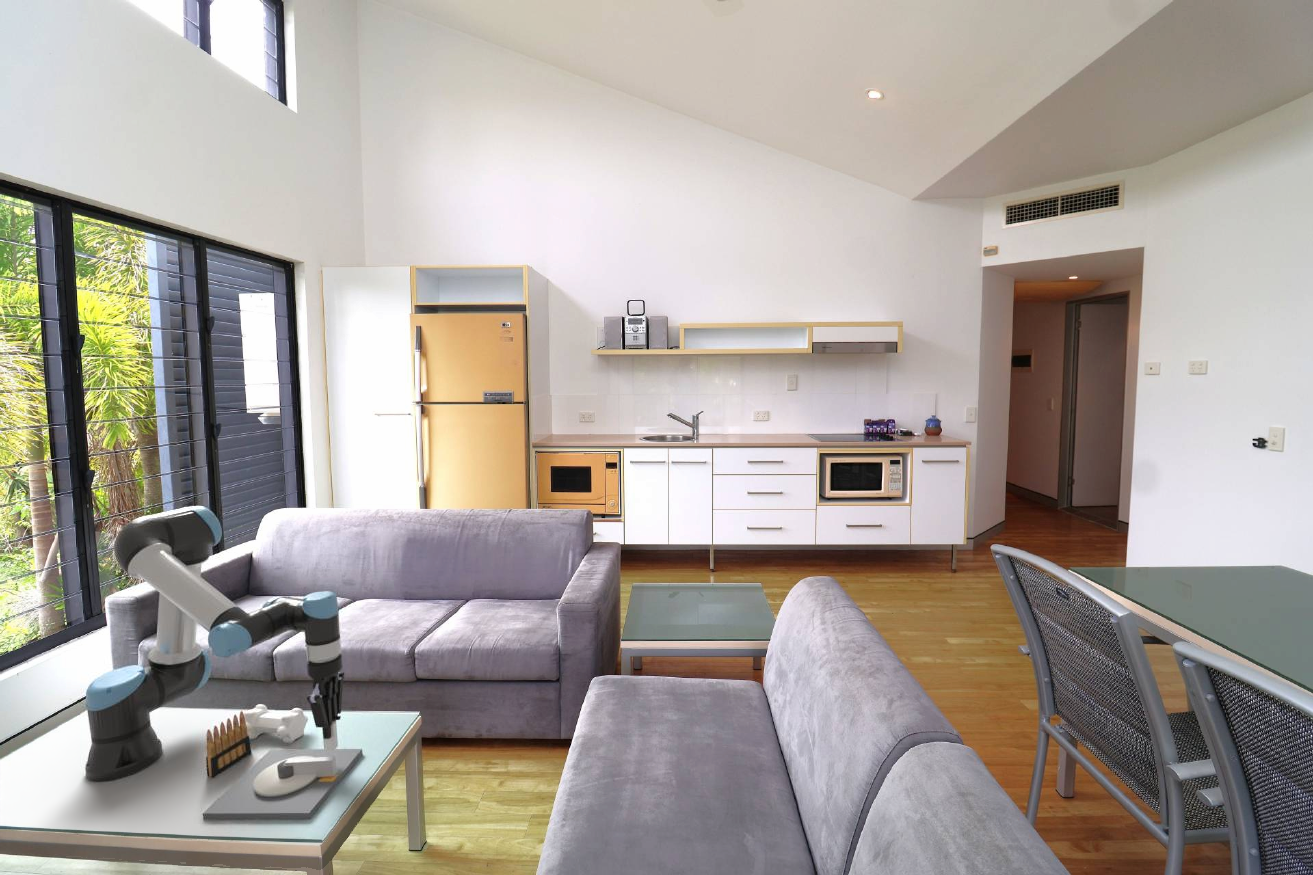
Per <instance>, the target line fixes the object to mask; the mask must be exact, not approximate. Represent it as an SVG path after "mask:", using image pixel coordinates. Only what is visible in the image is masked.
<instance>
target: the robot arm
mask: <svg viewBox="0 0 1313 875" xmlns="http://www.w3.org/2000/svg"><path fill="white" fill-rule="evenodd" d="M222 534H223V530H222V526H221V522H220V520H219V518H217V516H216V514H215V513H214V512H213V511H212V510H211V509H209V508H208V507H205V506H203V505H195V506H194V505H193V506H184V507H181V508H177V509H173V510H172V509H171V510H168V511H163V512H159V513H154V514H149V515H142V516H140V517H136V518H134V519H132V520H130V521H129V522H128V523H126V524H125V525H124V526H123V527H122V528H121V529H120V531H119V532H118V534H117V536H116V538H115V540H114V545H113V550H114V557H115V559H116V562H117V564H118V565H119V566H120V568H121V569H122V570H123V571H124V572H125V573H127V574H128V575H129V576H130V577H132V578H134V579H139V580H141V579H142V580H144V582H146V583H147V584H148V585H150V586H151V587H152V589H155V590H156V591H157V592H159V596H158V597H159V598H158V610H157V611H158V612H157V628H156V630H157V631H156V642H155V643H156V645H155V646H154V647H152V649H151V650H150V651H149V652H148V658H147V659H148V660H147V664H146V665H143V666H142V665H138V664H133V665H126V666H122V667H121V668H115V669H112V670H110V671H108V672H105V673H104V674H101V675H100V676H99V677H97V678H96V679H94V680H93V681H92V682H91V683H90V684H89V686H88V687H87V689H86V690H85V692H86V693H85V707H86V709H87V717H88V725H89V726H88V727H89V732H90V733H89V734H90V738H91V745H90V749H89V752H88V757H87V762H86V764H85V770H84V771H85V776H86V778H87V779H88V780H89V781H92V782H107V781H112V780H118V779H120V778H124V777H127V776H130V775H133V774H135V773H138V772H140V771H142V770H143V769H146V768H148V767H149V766H151V765H153V764H154V763H155V762H156V761H158V759H160V757H162V754H163V751H164V750H163V743H162V741H161V739H160V738H158V736H157V733H156V731H155V730H154V728H153V726H152V722H151V714H150V713H152V712H153V711H156V710H158V709H159V708H162V707H164V706H166V705H168V704H170V703H173V702H174V701H176V700H178V699H180V698H183V697H185V696H189V695H190V694H192V693H193V692H195V691H196V690H198V689H201V687H203V686H204V685H205V684H206V683H207V682H208V680H209V678H210V675H211V671H212V662H211V660H210V659H209V654H208V652H207V651H206V650H205V649H204V648H202V646H201V644H200V643H198V642H196V641H197V630H198V628H197V627H198V625H199V626H201V627H202V628H203V629H204V630H206V631H207V632H208V635H207V636H208V637H207V642H208V647H209V648H211V652H212V653H213V654H214V655H215V656H216V657H219V658H222V659H225V658H226V659H227V658H231V657H233V656H236V655H239V654H242V653H245V652H246V651H248V650H250V649H251V648H254V647H256V646H258V645H260V644H262V643H264V642H267V641H268V640H271V639H275V637H278V636H280V635H282V634H285V633H287V632H289V631H293V632H294V631H295V632H301V633H304V638H305V639H304V641H305V649H306V651H305V652H306V659H307V660H306V668H307V669H306V670H307V675H308V676H309V677H310V678H311V679H313V681H312V689H313V690H312V693H311V694H308V695H307V697H306V700H307V702H308V703H309V705H310V709H311V714H312V716H313V721H314V725H315V727H316V728H322V730H321V731H322V738H323V740H322V741H323V749H324V750H335V749H338V747H339V744H338V743H339V742H338V728H337V726H338V725H337V721H340V720H341V717H342V716H341V715H339V714H341V713H342V706H343V684H344V677H345V672H342V671H341V670H342V669H343V658H342V657H343V656H342V643H341V631H340V616H339V614H340V613H339V612H340V608H339V603H338V597H337V594H336V593H334V592H333V591H331V590H330V591H329V590H328V591H327V590H325V591H315V592H312V593H308V594H307V595H305V596H304V597H303V598H297V597H291V596H274V597H271V598H269V599H268V600H267V601H266V602H265V603H264V604H263V605H262V607H261V608H259V609H257V610H254V611H251V612H246V611H245V610H244V609H243V608H241V607H239V606H238V605H237V604H236V603H234V602H233V601H232V600H231V599H229V598H228V597H227V596H226V595H224V594H223V593H221V592H220V591H219V590H218V589H217V588H215V587H214V586H213V585H211V583H209V582H207V581H206V580H205V579H204V578H203V577H201V576H202V574H201V573H202V565H203V564H204V563H205V562H207V560H209V557H210V548H212V547H214V546H217V544H219V543H220V542H221V540H222Z"/></svg>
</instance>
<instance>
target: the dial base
mask: <svg viewBox="0 0 1313 875" xmlns="http://www.w3.org/2000/svg"><path fill="white" fill-rule="evenodd" d="M298 756H310V757H315V758H316V757H334V756H335V758H336V770H337V772H336V774H335V775H334V776H329V777H317V778H316V779H315V780H314V781H313V782H311V783H310V784H309V785H307V786H305V787H304V788H302V789H300V790H297V791H295V792H292V793H289V794H286V795H282V796H276V797H264V796H260V795H258V794H256V793H255V791H254V787H253V783H254V780H255V778H256V777H257V775H258V774H259V773H261V772H262V771H263V770H264V769H266V768H267V767H269V766H271V765H273V764H275V763H277V762H279V761H282V760H285V759H289V758H293V757H298ZM362 756H363V749H362V748H336V749H335V750H324V748H321V749H319V748H315V749H313V748H310V749H309V748H306V749H305V748H304V749H301V748H299V749H298V748H296V749H295V748H293V749H290V748H289V749H286V748H285V749H269V751H268V752H266V753H265V754H264V755H263V756H262V757H261V758H260V759H258V761H257V762H255V763H254V764H253V765H252V766H251V767H250V768H249V769H248V770H247V771H246V772H244V774H243V775H242V776H241V777H240V778H238V779H237V780H236V781H235V782H234V783H233V784H232V785H231V786H230V787H229V788H228V789H227V790H226V791H224V793H223V794H221V795H220V797H218V798H217V799H216V800H215V801H214V802H213V803H212V804H210V805H209V807H208V808H207V809H206V810H205V811H203V813H202V819H203V820H202V821H210V820H211V821H221V820H223V821H224V820H225V821H227V820H228V821H230V820H231V821H232V820H233V821H237V820H238V821H239V820H241V821H242V820H249V821H250V820H252V821H253V820H254V821H255V820H257V821H258V820H262V821H263V820H275V821H276V820H311V818H312V817H313V816H314V815H315V813H316V812H317V811H318V810H319V808H321V806H322V805H323V804H324V802H325V801H326V800H327V799H328V797H329V796H330V795H331V794H332V793H333V792H334V790H335V789H336V788H337V787H338V785H339V784H340V783H341V782H342V781H343V779H344V778H345V777H346V775H348V773H349V772H350V771H351V769H353V766H355V764H356V763H357V762H358V761H359V759H360V758H361V757H362Z"/></svg>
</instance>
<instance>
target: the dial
mask: <svg viewBox="0 0 1313 875" xmlns="http://www.w3.org/2000/svg"><path fill="white" fill-rule="evenodd" d="M336 772H337V770H336V758H335V756H334V757H316V758H315V757H310V756H298V757H293V758H289V759H285V760H282V761H279V762H277V763H275V764H273V765H271V766H269V767H267V768H266V769H264V770H263V771H262V772H261V773H259V774H258V775H257V777H256V778H255V780H254V783H253V787H254V791H255V793H256V794H258V795H260V796H264V797H276V796H282V795H286V794H289V793H292V792H295V791H297V790H300V789H302V788H304V787H305V786H307V785H309V784H310V783H311V782H313V781H314V780H315V779H316V778H317V777H329V776H334V775H335V774H336Z"/></svg>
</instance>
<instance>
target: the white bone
mask: <svg viewBox="0 0 1313 875" xmlns="http://www.w3.org/2000/svg"><path fill="white" fill-rule="evenodd" d="M243 714H244V717H245V722H246V726H247V733H248V735H249V739H250V740H255V739H257V738H258V736H259V735H261V734H263V733H265V734H273V735H275V734H277V735H278V737H280V738H281V740H282V742H283V743H285V744H292V743H293V742H294V741H295V740H297V739H298V738H300V737H302V736H303V735H305V729H306V725H307V723H308V721H309V717H308V716H307V715H305V713H304V711H303V709H302V708H301V707H300V708H299V707H295V708H292V709H291V711H290V712H288V713H285V714H280V713H272V712H271V711H269V710H268V707H267V706H266V705H265V704H262V703H261V704H259V703H258V704H257V705H256V706H255V707H254V708H252V709H248V710H247V711H246V712H244V713H243Z"/></svg>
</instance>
